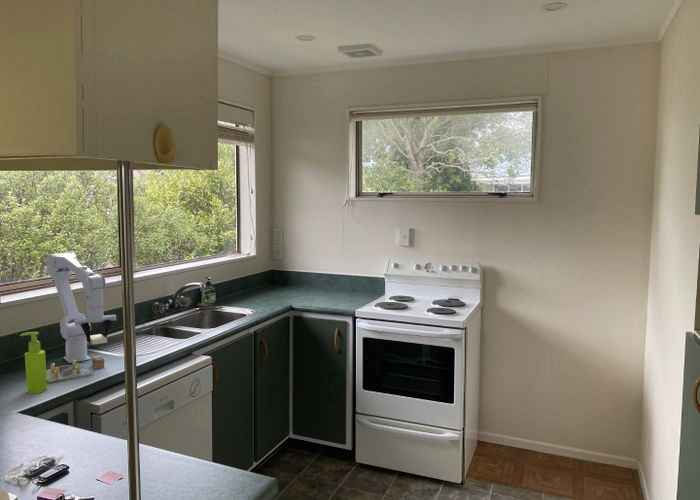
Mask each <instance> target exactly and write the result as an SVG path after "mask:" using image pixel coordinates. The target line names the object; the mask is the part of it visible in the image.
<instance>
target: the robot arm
mask: <svg viewBox="0 0 700 500" xmlns="http://www.w3.org/2000/svg"><path fill="white" fill-rule="evenodd" d="M45 267H46V270H47V273H48V275H49V276H50V277H51V278H53V282H54V284H55V288H56V291H57V295H58V298H59V300H60V304H61V308H62V310H63V313H64V314H63V315H64V317H63V318H62V319H61V320H60V321H59V327H60V328H59V329H60V334H61V336H62V338H63V339H65V340H66V341H65V355H66V356H64V357H63V359H64V360H65V361H66V362H67V363H68V364H72V360H76V363H79V362H83V361H89V360H91V357H90V356H88V345H87V344H92V343H91V338H90V336H91V331H92V325H91V324H96V323H101V328H102V335H103V336H104V337H106V338H107V339H108V332H109V330H110V328H111V326H112V321H114V322H115V321H117V315H116V314H109V315H105V314H104V310H105V309H104V295H103V293H104V291H103V289H105V287H106V279H105V276H104V275H103V274H102V273H100V274H97V273H96V272H94V271H93V270H91V269H90V268H89V267H88V266H87V265H82V264H81V263H79V261H78V260H77V254H75V253H74V251H72V252H71V251H69V252H62V253H48V254H47V256H46V259H45ZM73 273H74V277H75V279H77V280H78V281H79V282H80V283H81V284H82V288H83V290H84V292H83V293H84V295H85V297H86V299H85V300H86V315H85V314H83V313H82V312H79V310H78V306H77V302H76V299H75V297H74V293H73V291H72V286H71V284H70V280H69V276H70V275H72V274H73Z"/></svg>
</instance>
